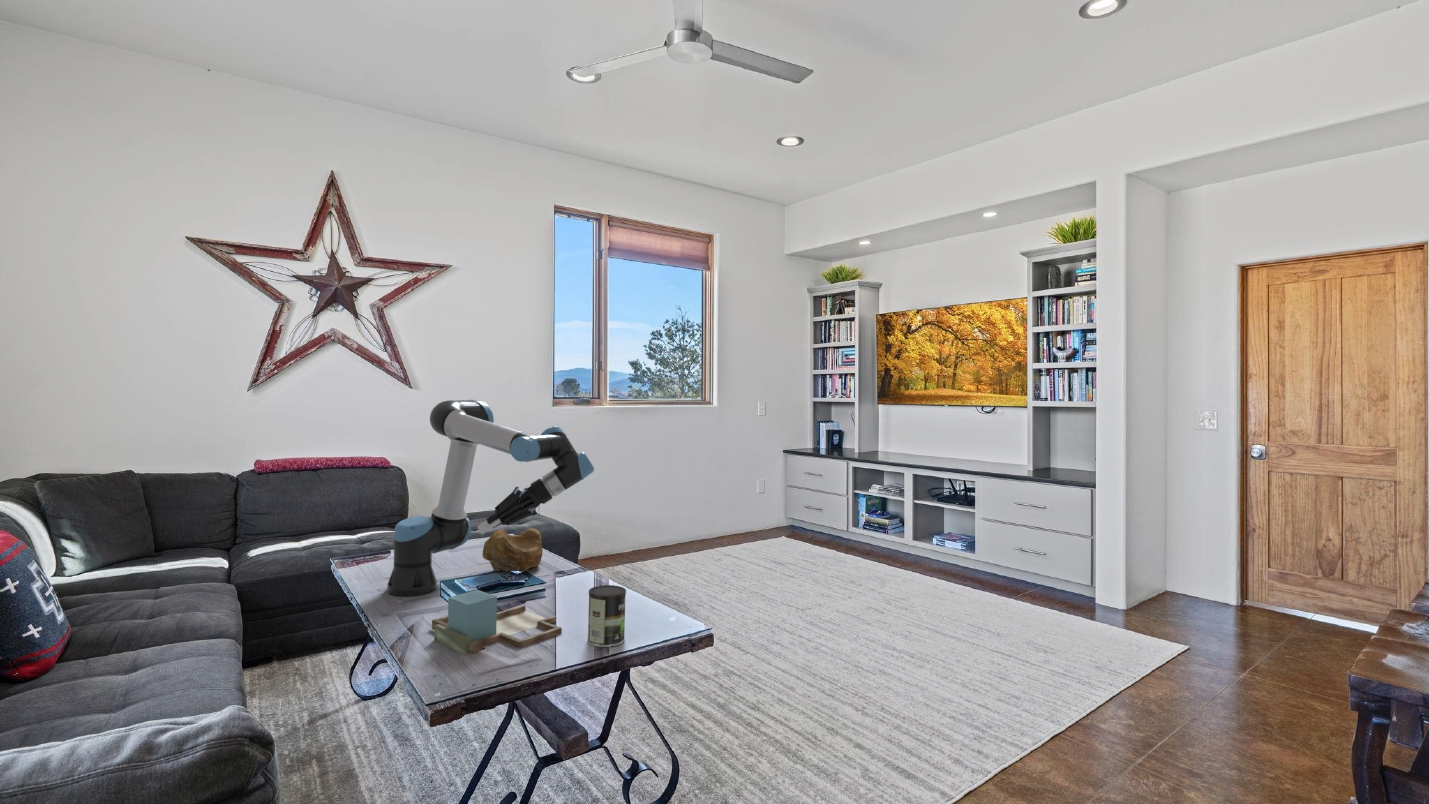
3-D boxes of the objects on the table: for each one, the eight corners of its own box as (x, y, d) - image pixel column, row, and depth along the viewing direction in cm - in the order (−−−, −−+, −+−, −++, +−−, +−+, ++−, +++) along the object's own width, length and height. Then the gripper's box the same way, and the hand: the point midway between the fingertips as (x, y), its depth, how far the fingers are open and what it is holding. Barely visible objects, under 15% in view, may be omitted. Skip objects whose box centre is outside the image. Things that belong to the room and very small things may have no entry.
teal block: (476, 628, 192) (477, 589, 192) (496, 636, 187) (497, 596, 186) (447, 637, 185) (448, 597, 185) (467, 646, 180) (467, 604, 179)
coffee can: (627, 634, 194) (628, 585, 194) (621, 648, 184) (623, 596, 184) (591, 633, 195) (592, 584, 194) (583, 646, 184) (585, 595, 184)
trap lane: (506, 607, 214) (506, 594, 213) (574, 631, 195) (574, 618, 195) (418, 632, 190) (418, 618, 190) (486, 663, 171) (486, 647, 171)
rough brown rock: (500, 583, 241) (504, 542, 240) (476, 569, 252) (480, 530, 251) (555, 573, 258) (559, 534, 257) (530, 561, 269) (534, 524, 268)
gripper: (543, 483, 206) (472, 527, 201) (559, 506, 215) (493, 549, 210) (534, 468, 211) (465, 510, 206) (551, 491, 220) (485, 533, 215)
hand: (479, 530), depth 208 cm, fingers closed
